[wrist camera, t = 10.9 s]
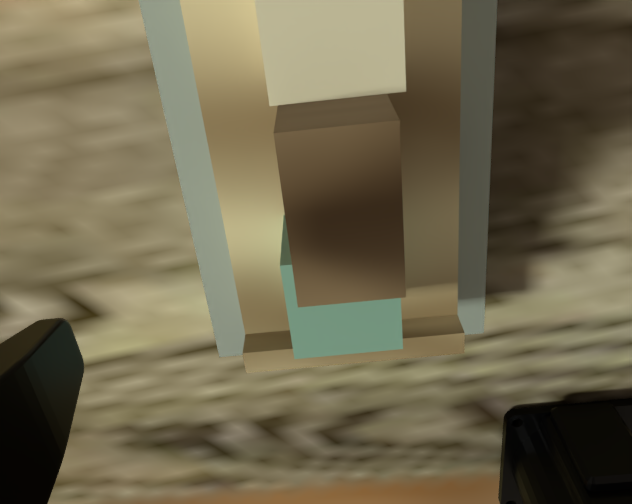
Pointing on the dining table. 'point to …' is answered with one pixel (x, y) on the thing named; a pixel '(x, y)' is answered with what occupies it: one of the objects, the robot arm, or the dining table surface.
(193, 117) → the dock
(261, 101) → the tray
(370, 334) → the block
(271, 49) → the block
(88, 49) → the dining table surface
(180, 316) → the dining table surface
